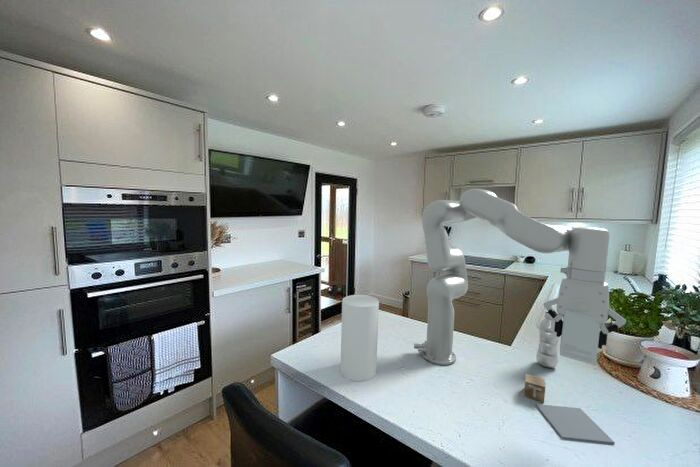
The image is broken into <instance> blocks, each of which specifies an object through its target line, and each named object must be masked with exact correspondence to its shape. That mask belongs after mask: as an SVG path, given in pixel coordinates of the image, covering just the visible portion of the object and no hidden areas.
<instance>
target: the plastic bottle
mask: <svg viewBox="0 0 700 467" xmlns="http://www.w3.org/2000/svg"><path fill="white" fill-rule="evenodd" d="M554 328H555V321H554V319H553V318H552V317H551V315H550V314H549V313H548V311H547V310H546V311H544V315H543V319H542V320H541V321H540V322H539V324H538V331H539V338H538V339H539V341H538V342H539V343H538V348H537V351H536V354H535V359H536V362H537V363H538V364H539V365H540V366H543V367H545V368H551V369H553V368H557V366H558V363H559V357H558V342H559V338H560V337H557V336H556V334H557V332H554Z"/></svg>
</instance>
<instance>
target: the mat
mask: <svg viewBox="0 0 700 467" xmlns="http://www.w3.org/2000/svg"><path fill="white" fill-rule="evenodd" d="M535 407H536V408H537V409H538V410H539V411H540V413H541V414H542V415H543V417H544V418H545V419H546V421H547V422H548V423H549V424H550V426H552V428H553V429H554V430H555V432H556V433H557V435H559V437H560V438H561V439H562V440H571V441H572V440H573V441H579V442H580V441H581V442H590V443H591V442H592V443H598V444H609V445H615V441H614V440H613V439H612V438H611V437H610V436H609V435H608V434H607V433H606V432H605V431H604V430H603V429H602V428H601V427H600V426H599V425H597V424H596V423H597V422H595V421H593V419H592V418H591V417H590V416H588V414H587V413H586V412H585V411H584V410H582V408H580V407H573V406H572V407H571V406H559V405H552V404H551V405H550V404H539V403H536V404H535Z"/></svg>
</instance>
